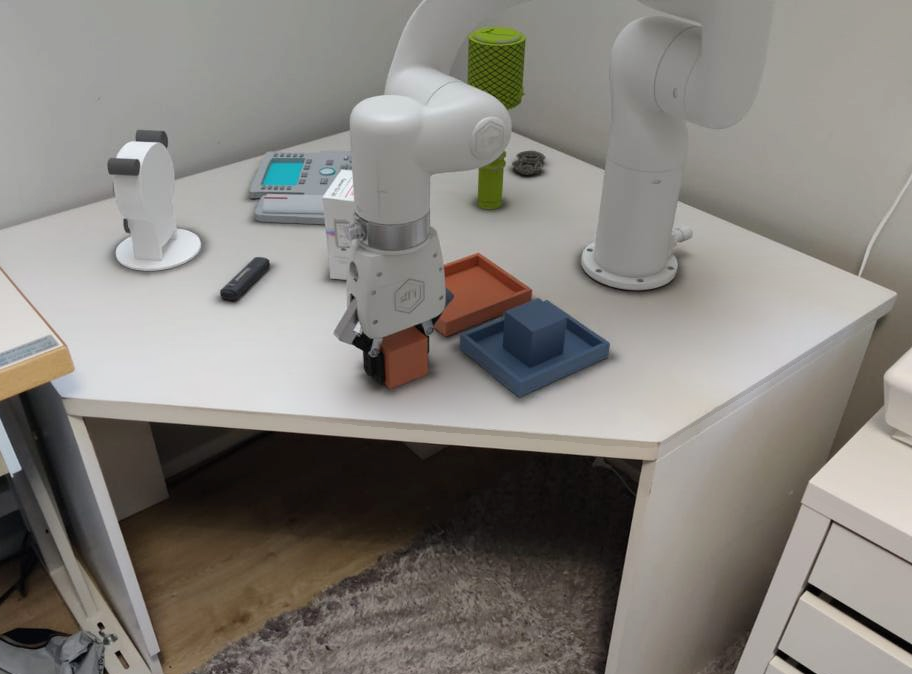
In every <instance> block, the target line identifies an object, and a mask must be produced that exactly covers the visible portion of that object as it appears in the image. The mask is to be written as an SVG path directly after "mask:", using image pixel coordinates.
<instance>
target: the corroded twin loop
mask: <svg viewBox="0 0 912 674" xmlns="http://www.w3.org/2000/svg"><path fill="white" fill-rule="evenodd" d="M515 157H516V158H517V160H515V161H513V162H512V163H511V165H512V166H513V170H514V171H516V172H517V173H519V174H522V175H523V176H524V175H525V176H529V175H533V174H538V173H540V172H541V171H542V168H543V167H544V164H543V163H544V160H546V155H545V154H543V153H542V152H540V151H538V150H537V151H536V150H524V151H521V152H518V153H517V154H516V156H515Z"/></svg>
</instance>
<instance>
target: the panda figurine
mask: <svg viewBox="0 0 912 674" xmlns="http://www.w3.org/2000/svg"><path fill="white" fill-rule="evenodd" d="M134 138H135V141H134V140H133V141H131V140H130V141H129V142H127V143H125V144H124V145H123V146H122V147H121V148H120V150H119V151H118V153H117V155H116V157H109V159H108V160H107V163H106V165H107V166H106V167H107V171H108V175H111V176H112V193H113V196H114V199H115V202H116V203H115V204H116V205H117V209H118V210H119V212H120V215H122V217H123V218H122V219H123V220H122V225H123V230H124V232H125V233H126V234H130V236H128V237H127V238H125V239H124V240H123V241H121V242H120V243H119V244H118V245H117V247H116V249H115V257H116V260H117V262H118V263H119V264H121V265H122V266H124V267H125V268H128V269H132V270H134V271H141V272H142V271H143V272H153V271H156V272H157V271H164V270H169V269H173V268H176V267H179V266H182V265H183V264H186V263H188V262H190V261H192V260H193V259H194V258H195V257H196V256H197V255H198V254H199V253H200V251H201V248H202V242H201V239H200V237H199V236H198V235H197V234H196V233H194V232H191V231H190V230H187V229H184V228H177V222H176V215H175V210H174V203H173V200H174V193H175V169H174V164H173V160H172V158H171V154H170V152H169V151H168V147H169V137H168V134H167V132H166V131H165V130H156V129H155V130H152V129H137V130H136V132H135V137H134Z"/></svg>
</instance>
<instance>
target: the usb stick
mask: <svg viewBox="0 0 912 674" xmlns="http://www.w3.org/2000/svg"><path fill="white" fill-rule="evenodd" d="M270 266H271V263H270V260H269V258H267V257H263V256H255V257H253V258H252V259H251V260H250V261H249V263H247V264H246V265H245V266H244V267H243V268H242V269H241V270H240V271H239V272H238V273H237V274H236V275H234V277H232V279H230V280H229V282H228V283H226V284H225V285H224V286H223V287H222V288H221V289H219V290H220V291H219V295H220V297H221V298H222V299H224V300H230V301H235V300H237V299H238V298H240V297H241V295H242V294H243V293H244V292H246V290H248V288H249V287H250V286H252V284H254V283H255V281H257V280H258V279H259V277H261V276H262V275H263V274H264V273H265V272H266V271H267V270H268V269H269V267H270Z"/></svg>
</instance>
